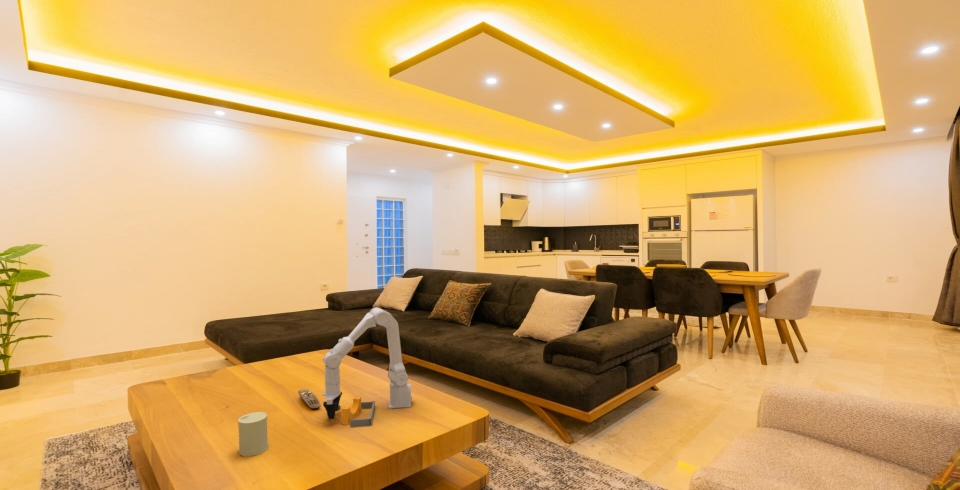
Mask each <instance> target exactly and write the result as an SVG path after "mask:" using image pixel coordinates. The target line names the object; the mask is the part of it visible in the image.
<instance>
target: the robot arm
mask: <svg viewBox="0 0 960 490" xmlns="http://www.w3.org/2000/svg"><path fill="white" fill-rule="evenodd" d="M377 325H378V326H382V327H384V328H385V329H386V337H387V345H388V356H389V365H388V367H389V369H388V372H387V377H388V379H389V380H390V382H389V403H388V409H397V408H398V409H399V408H411V407H412V401H413V396H412V383H408V381H409V375H408V374H407V372H406V368H405V366H404V363H403V357H402V347H401V338H400V329H399V323H398V321H397V319H395V317H393V315H392V313H390V312H389V311H386V310H384V309H382V308H381V307H378V306H377V307H376V306H375V307H373V308H371V309H370V311H369V312H367V313H366V314H365V315H364V316H363V318H362V320H361V321H360V322H358V324H357V326H356V327H355V328H354V329H353V330H351V332H350V333H349V335H348V336H343V337H342V338H339V339H338V340H337V341H338V342H337V344H335V346H333V348H330V349H329V351H328V352H326V353H325V354H324V356H323V359H322V361H323V363H324V390H325V391H324V392H322V394H321V395H322V397H325V398H326V401H323V404H322V405H323V407H324V409H325V411H326V415H327V418H328V420H335V418H336V412H338V411H339V410H338V407H339V405H340V400H341V397H342V395H343V392H342V391H341V375H340V374H341V372H340V365H341V364H342V359H344V358H345V357H346V355H348V353H349V352H350V351H351V350H352V349H354V347H355V342H356V340H358V338H360V337H361V335H363V334H364V333H365V332H366V331H367V329H369V328H375V327H377Z"/></svg>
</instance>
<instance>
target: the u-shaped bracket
mask: <svg viewBox="0 0 960 490" xmlns="http://www.w3.org/2000/svg"><path fill="white" fill-rule="evenodd" d="M363 409H370V413H369V417H367V418H355V419H352V420H350V428H354V427H355V428H356V427H367V426H372V424H373V418H374V414H375V409H376V401H361V410H363Z"/></svg>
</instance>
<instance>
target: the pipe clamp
mask: <svg viewBox="0 0 960 490" xmlns="http://www.w3.org/2000/svg"><path fill="white" fill-rule="evenodd" d="M361 402H362V397H359V396H357V397H356V396H355V397H354V398H353V399H352V404H351V405H349V406H343V407H342V408H341V425H344V426H348V425H350V424H351V423H350V420H352V419H357V417H358V416H359V415H360V414H361V413H362V409H361ZM349 423H350V424H349Z"/></svg>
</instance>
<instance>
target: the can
mask: <svg viewBox="0 0 960 490" xmlns="http://www.w3.org/2000/svg"><path fill="white" fill-rule="evenodd" d="M237 423H238V425H237V426H238V443H239V444H238V446H239V447H238V455H239V456H243V457H253V456H256V455H260V454H262V453H264V452H265V451H267V449H268V448H269V443H268V442H269V441H268V440H269V439H268V414H267V413H266V412H264V411H256V412H249V413H246V414H244V415H241V416H240V417H239V418H238V419H237Z"/></svg>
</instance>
